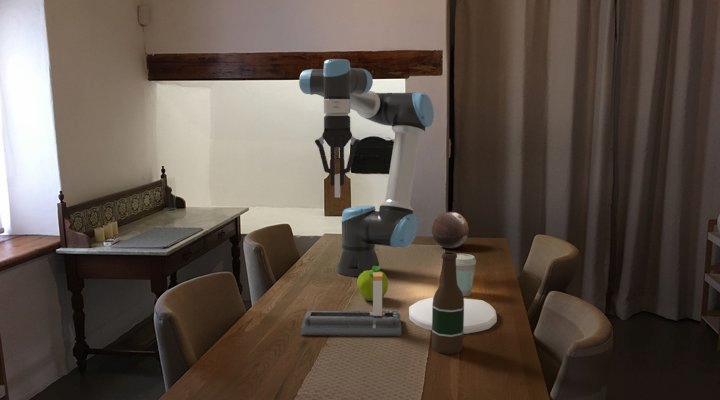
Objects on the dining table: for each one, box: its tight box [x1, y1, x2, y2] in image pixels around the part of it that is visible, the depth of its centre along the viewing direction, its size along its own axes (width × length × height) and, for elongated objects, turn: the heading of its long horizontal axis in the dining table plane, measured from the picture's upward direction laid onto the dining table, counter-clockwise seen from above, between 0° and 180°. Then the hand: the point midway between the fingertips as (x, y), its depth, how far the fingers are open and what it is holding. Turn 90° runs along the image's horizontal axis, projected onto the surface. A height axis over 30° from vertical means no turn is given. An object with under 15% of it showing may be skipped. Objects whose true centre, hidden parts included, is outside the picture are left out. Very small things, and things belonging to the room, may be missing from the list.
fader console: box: [300, 310, 403, 337], centre depth 170 cm, size 26×12×4 cm, turn 89°
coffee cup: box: [456, 253, 477, 297], centre depth 199 cm, size 8×8×12 cm
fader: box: [370, 271, 385, 317], centre depth 169 cm, size 4×4×12 cm
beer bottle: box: [431, 251, 465, 355], centre depth 154 cm, size 8×8×24 cm
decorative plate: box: [408, 296, 498, 335], centre depth 178 cm, size 25×4×25 cm
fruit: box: [356, 265, 389, 302], centre depth 193 cm, size 9×9×10 cm
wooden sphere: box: [431, 211, 470, 249], centre depth 261 cm, size 15×15×15 cm
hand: (337, 196), depth 185 cm, fingers closed
